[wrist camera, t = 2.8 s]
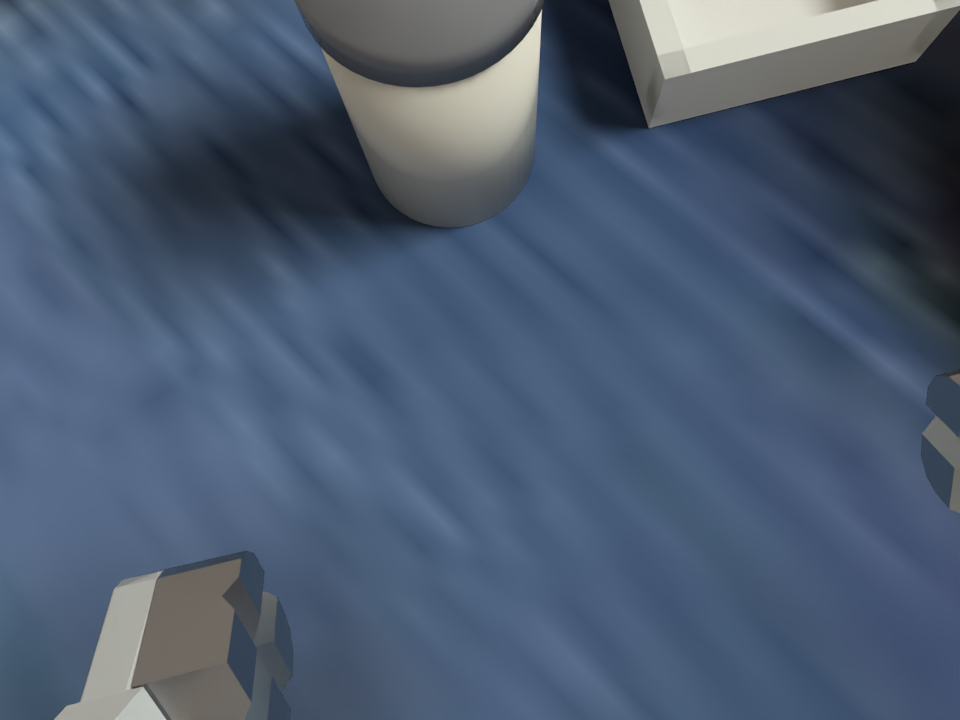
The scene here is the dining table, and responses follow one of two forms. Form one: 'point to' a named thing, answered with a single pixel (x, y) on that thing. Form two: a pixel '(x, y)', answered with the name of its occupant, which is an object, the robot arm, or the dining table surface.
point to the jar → (437, 97)
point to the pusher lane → (763, 47)
